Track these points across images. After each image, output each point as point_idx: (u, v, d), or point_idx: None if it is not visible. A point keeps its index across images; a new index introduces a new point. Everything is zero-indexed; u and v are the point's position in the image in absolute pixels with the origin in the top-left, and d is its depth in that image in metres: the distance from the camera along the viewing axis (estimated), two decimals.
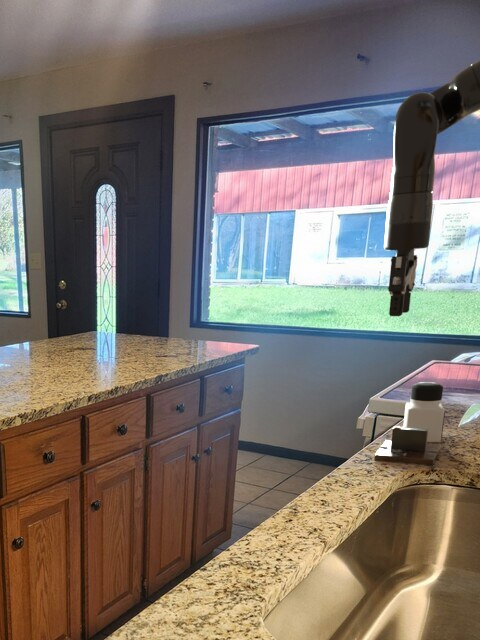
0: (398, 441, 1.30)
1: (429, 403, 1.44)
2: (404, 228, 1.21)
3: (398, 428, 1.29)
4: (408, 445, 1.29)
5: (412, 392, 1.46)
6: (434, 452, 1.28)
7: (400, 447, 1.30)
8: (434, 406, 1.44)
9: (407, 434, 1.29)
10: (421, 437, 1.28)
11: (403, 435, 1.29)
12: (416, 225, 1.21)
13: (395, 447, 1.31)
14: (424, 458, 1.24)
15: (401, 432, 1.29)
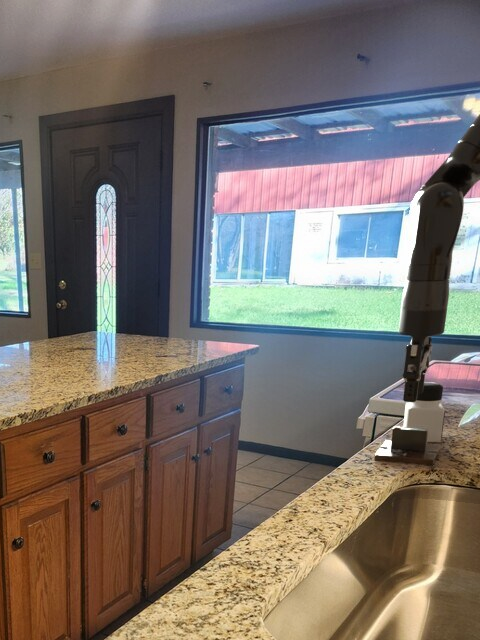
0: (398, 441, 1.30)
1: (429, 403, 1.44)
2: (420, 315, 1.19)
3: (398, 428, 1.29)
4: (408, 445, 1.29)
5: None
6: (434, 452, 1.28)
7: (400, 447, 1.30)
8: (434, 406, 1.44)
9: (407, 434, 1.29)
10: (421, 437, 1.28)
11: (403, 435, 1.29)
12: (432, 313, 1.18)
13: (395, 447, 1.31)
14: (424, 458, 1.24)
15: (401, 432, 1.29)
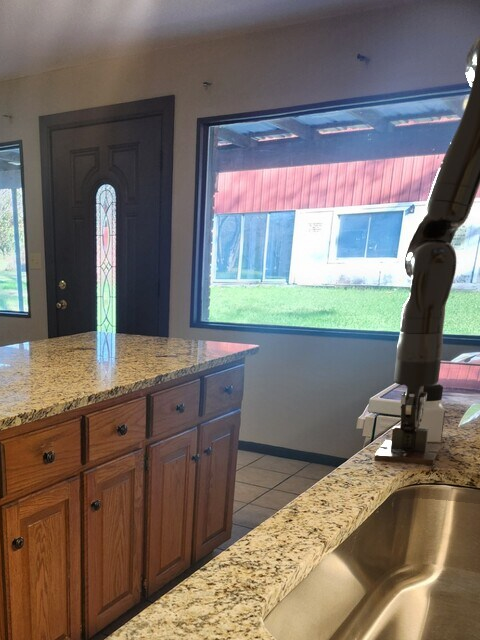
0: (398, 441, 1.30)
1: (429, 403, 1.44)
2: (414, 367, 1.22)
3: (398, 428, 1.29)
4: None
5: None
6: (434, 452, 1.28)
7: (400, 447, 1.30)
8: (434, 406, 1.44)
9: None
10: (421, 437, 1.28)
11: None
12: (426, 364, 1.21)
13: (395, 447, 1.31)
14: (424, 458, 1.24)
15: (401, 432, 1.29)
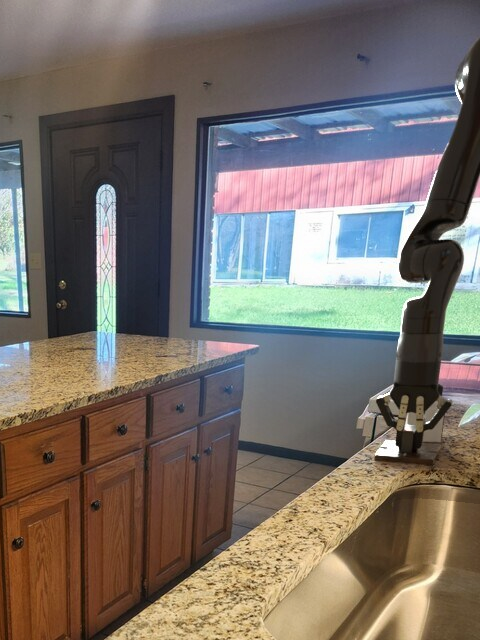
0: None
1: None
2: (440, 364, 1.23)
3: (413, 431, 1.27)
4: None
5: None
6: (434, 452, 1.28)
7: (412, 449, 1.29)
8: (434, 406, 1.44)
9: None
10: None
11: None
12: None
13: (411, 450, 1.28)
14: (424, 458, 1.24)
15: None
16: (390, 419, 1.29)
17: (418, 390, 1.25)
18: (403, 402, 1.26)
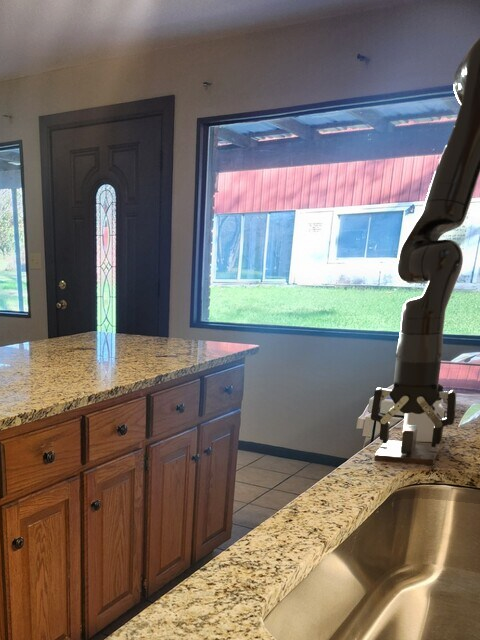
0: (413, 443, 1.28)
1: None
2: (440, 365, 1.23)
3: (413, 431, 1.27)
4: (414, 444, 1.30)
5: None
6: (434, 452, 1.28)
7: (412, 449, 1.29)
8: (434, 406, 1.44)
9: (414, 434, 1.29)
10: (416, 433, 1.31)
11: (414, 436, 1.28)
12: None
13: (411, 450, 1.28)
14: (424, 458, 1.24)
15: (414, 434, 1.28)
16: (374, 413, 1.30)
17: (418, 390, 1.25)
18: (403, 402, 1.26)
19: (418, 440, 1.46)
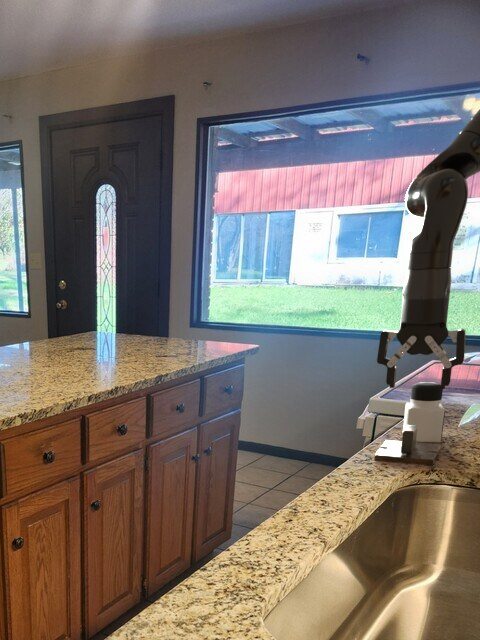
0: (413, 443, 1.28)
1: (429, 403, 1.44)
2: (448, 302, 1.19)
3: (413, 431, 1.27)
4: (414, 444, 1.30)
5: (412, 392, 1.46)
6: (434, 452, 1.28)
7: (412, 449, 1.29)
8: (434, 406, 1.44)
9: (414, 434, 1.29)
10: (416, 433, 1.31)
11: (414, 436, 1.28)
12: None
13: (411, 450, 1.28)
14: (424, 458, 1.24)
15: (414, 434, 1.28)
16: (380, 356, 1.26)
17: (426, 330, 1.21)
18: (411, 343, 1.22)
19: (418, 440, 1.46)
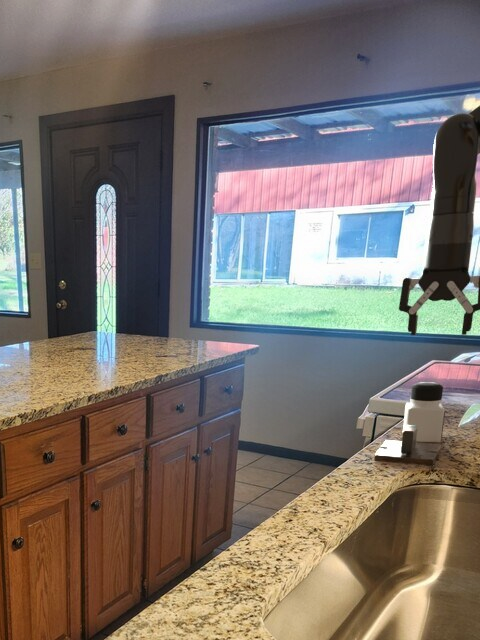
0: (413, 443, 1.28)
1: (429, 403, 1.44)
2: None
3: (413, 431, 1.27)
4: (414, 444, 1.30)
5: (412, 392, 1.46)
6: (434, 452, 1.28)
7: (412, 449, 1.29)
8: (434, 406, 1.44)
9: (414, 434, 1.29)
10: (416, 433, 1.31)
11: (414, 436, 1.28)
12: None
13: (411, 450, 1.28)
14: (424, 458, 1.24)
15: (414, 434, 1.28)
16: (402, 303, 1.28)
17: (448, 275, 1.23)
18: (433, 289, 1.24)
19: (418, 440, 1.46)
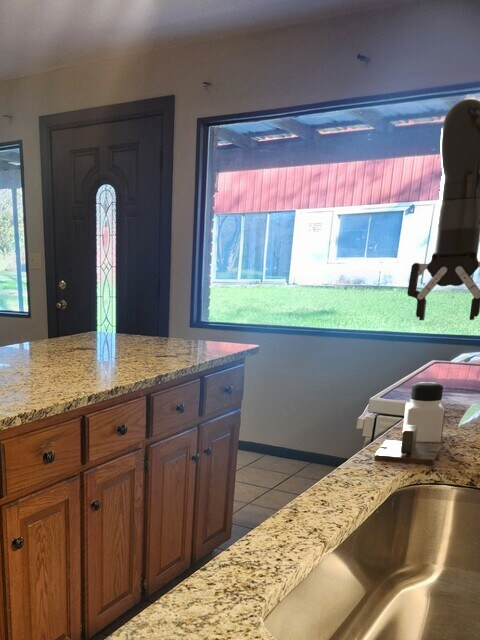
0: (413, 443, 1.28)
1: (429, 403, 1.44)
2: None
3: (413, 431, 1.27)
4: (414, 444, 1.30)
5: (412, 392, 1.46)
6: (434, 452, 1.28)
7: (412, 449, 1.29)
8: (434, 406, 1.44)
9: (414, 434, 1.29)
10: (416, 433, 1.31)
11: (414, 436, 1.28)
12: None
13: (411, 450, 1.28)
14: (424, 458, 1.24)
15: (414, 434, 1.28)
16: (411, 288, 1.29)
17: (457, 261, 1.24)
18: (441, 274, 1.26)
19: (418, 440, 1.46)
